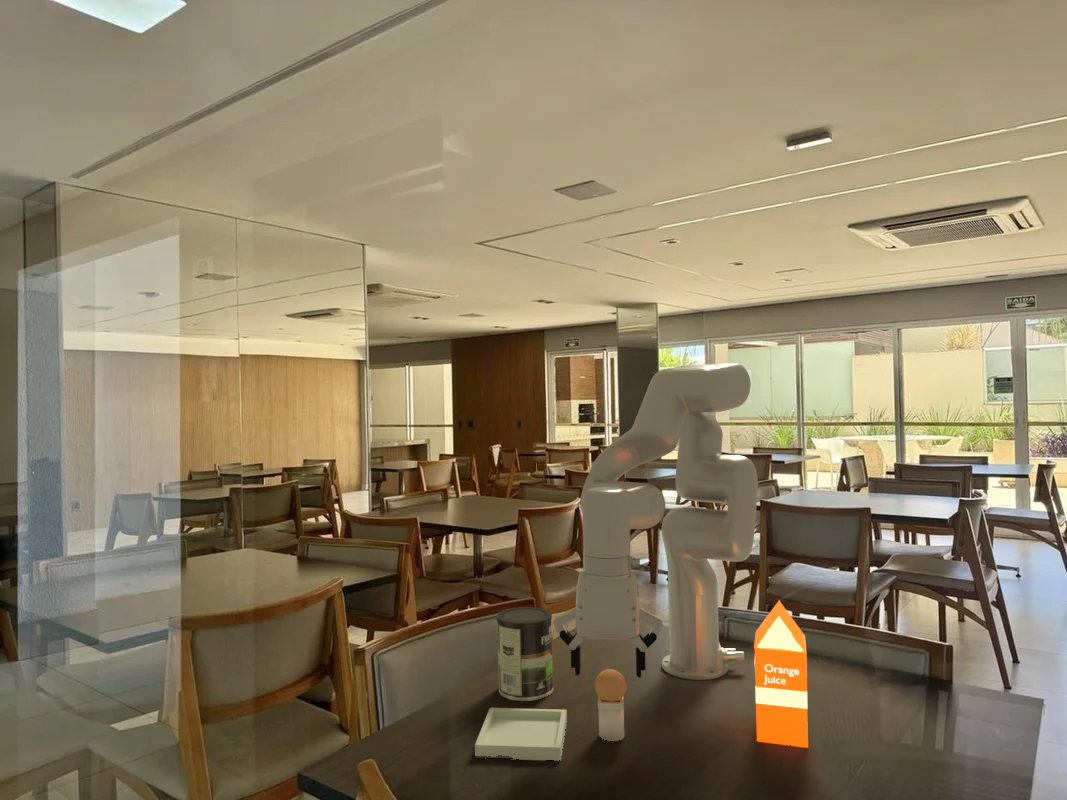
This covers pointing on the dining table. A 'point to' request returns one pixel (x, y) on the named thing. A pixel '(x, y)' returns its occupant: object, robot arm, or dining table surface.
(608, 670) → the ball
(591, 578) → the robot arm
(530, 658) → the coffee can
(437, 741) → the dining table surface
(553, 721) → the tray
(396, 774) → the dining table surface
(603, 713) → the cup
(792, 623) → the orange juice
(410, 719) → the dining table surface
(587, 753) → the dining table surface
